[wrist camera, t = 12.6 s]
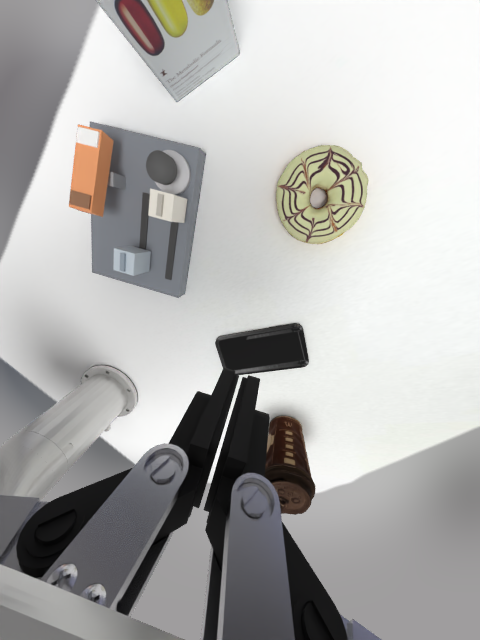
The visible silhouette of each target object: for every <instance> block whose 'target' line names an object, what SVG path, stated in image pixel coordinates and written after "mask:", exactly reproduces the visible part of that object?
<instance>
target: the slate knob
mask: <svg viewBox="0 0 480 640" xmlns="http://www.w3.org/2000/svg"><path fill="white" fill-rule="evenodd" d="M150 256H151V251H148V250H144V249H141V248H137V247H134V246H128V247H118V248H114V265H113V270H115V271H119V272H122V273H126V274H129V275H132V276H135V275H138V274H141V273H145V272H148V271H149V268H150Z"/></svg>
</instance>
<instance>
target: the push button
mask: <svg viewBox="0 0 480 640" xmlns="http://www.w3.org/2000/svg"><path fill="white" fill-rule="evenodd" d="M146 169H147V173H148V175H149V176H150V178H151V179H152V180H154V181H155V182H158V183H160V184H163V185H169V184H171V183H173V182H174V181H175V179H176V177H177V165H176V163H175V161H174V159H173V158H172V157H170V156H169V155H167V154H166V153H164V152H163V151H160V150H155V151H153V152H151V153H150V154H149V156H148V157H147V161H146Z"/></svg>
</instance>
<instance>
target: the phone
mask: <svg viewBox="0 0 480 640" xmlns="http://www.w3.org/2000/svg"><path fill="white" fill-rule="evenodd" d="M215 344H216V348H217V351H218V354H219V357H220V360H221V363H222V366H223V369H224V368H227V369H230V370H233V371H235V375H243V374H252V373H260V372H268V371H276V370H284V369H293V368H301V367H305V366H307V365H308V363H309V359H308V354H307V348H306V343H305V338H304V332H303V328H302V326H301V325H300V324H297V323H294V324H288V325H283V326H276V327H269V328H265V329H259V330H253V331H248V332H242V333H236V334H230V335H224V336H220V337H218V338H217V340H216V342H215Z"/></svg>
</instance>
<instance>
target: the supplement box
mask: <svg viewBox="0 0 480 640" xmlns="http://www.w3.org/2000/svg"><path fill="white" fill-rule="evenodd" d="M96 1H97V3H98V4H99V5H100V6H101V8H102V9H103V10H104V11H105V13H106V14H107V15H108V16H109V18H110V19H111V20H112V21H113V23H114V24H115V25H116V26H117V28H118V29H119V30H120V32H121V33H122V34H123V35H124V37H125V38H126V39H127V40H128V42H129V43H130V44H131V45H132V47H133V48H134V49H135V50H136V52H137V53H138V54H139V55H140V57H141V58H142V59H143V60H144V62H145V63H146V64H147V66H148V67H149V68H150V69H151V70H152V72H153V73H154V74H155V76H156V77H157V78H158V79H159V81H160V82H161V83H162V84H163V86H164V87H165V88H166V89H167V91H168V92H169V93H170V94H171V96H172V97H173V98H174V100H175V101H176V102H178V101H179V100H180V99H182V98H183V97H184V96H185V95H187V94H188V93H189V92H191V91H192V90H193V89H195V88H196V87H197V86H199V85H200V84H201V83H203V82H204V81H205V80H207V79H208V78H209V77H211V76H212V75H213V74H215V73H216V72H217V71H219V70H220V69H221V68H223V67H224V66H225V65H227V64H228V63H229V62H230V61H232V60H233V59H234V58H236V57H237V56H238V55H239V54H240V51H239V47H238V43H237V39H236V35H235V31H234V27H233V22H232V18H231V14H230V9H229V5H228V1H227V0H96Z"/></svg>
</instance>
